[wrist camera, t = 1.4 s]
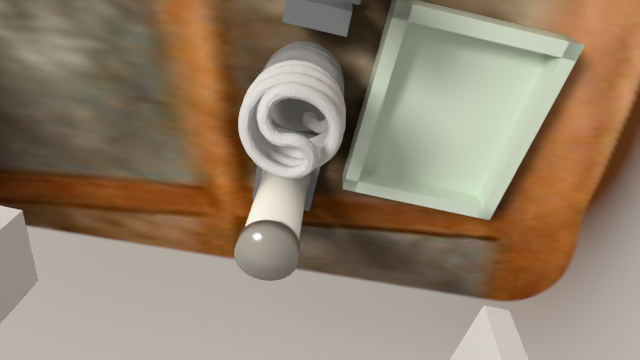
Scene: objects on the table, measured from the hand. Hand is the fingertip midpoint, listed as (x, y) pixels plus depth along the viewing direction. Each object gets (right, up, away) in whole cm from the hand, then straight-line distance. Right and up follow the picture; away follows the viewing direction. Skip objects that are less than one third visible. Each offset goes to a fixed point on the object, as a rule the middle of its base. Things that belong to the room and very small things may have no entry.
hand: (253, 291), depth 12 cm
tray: (+11, +8, +19) cm, 24 cm away
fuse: (-1, +4, +23) cm, 23 cm away
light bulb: (+1, +11, +18) cm, 22 cm away
